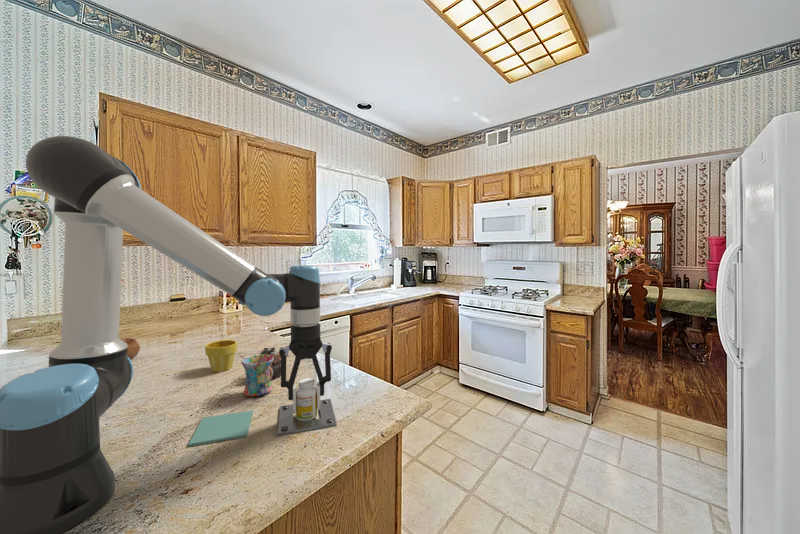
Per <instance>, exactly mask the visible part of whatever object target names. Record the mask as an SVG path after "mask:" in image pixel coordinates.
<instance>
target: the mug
mask: <svg viewBox="0 0 800 534" xmlns="http://www.w3.org/2000/svg"><path fill="white" fill-rule="evenodd" d="M273 360H274V357H273V356H271V355H260V354H254V355H251V356H247V357H245V358H243V359H242V360H241V362H240V363H241V365H242V366H243V369H244V371H245V376H246V377H245V378H246V379H245V380H246V383H245V387H244V390H243V394H244V395H245V396H247V397H260V396H263V395H267V394H269V393H271V391H272V390H273V388H274V385H273V384H272V380H271V379H272V376H273V370H272V368H271V365H272V362H273ZM270 371H271V375H270Z"/></svg>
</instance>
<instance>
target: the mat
mask: <svg viewBox="0 0 800 534" xmlns="http://www.w3.org/2000/svg"><path fill="white" fill-rule="evenodd" d="M253 413H254V410H252V409H251V410H246V411H239V412H238V411H237V412H231V413H226V414H225V413H224V414H219V415H212V416H205V417H202V419H201V420H200V422H199V424H198V426H197V427H196V429H195V431H194V433H193V435H192V437H191V439H190V440H189V442H188V447H194V446H199V445H200V446H202V445H206V444H213V443H217V442H223V441H224V442H225V441H229V440H235V439H240V438H246V437H247V436H248V433H249V429H250V426H251V423H252V422H251V421H252V418H253Z"/></svg>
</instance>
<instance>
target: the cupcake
mask: <svg viewBox="0 0 800 534" xmlns="http://www.w3.org/2000/svg"><path fill="white" fill-rule="evenodd" d="M259 355H271V356H273V357H274V360H273V362H272V365H271V368H272V370H273V376H272V379H274V380H277V379H279V377H280V376H281V357H280V354H279V350H277V349H276V347H271V348H267V347H265V348H263V349H262V350H261V352H260V353H259ZM270 375H271V371H270ZM276 378H277V379H276ZM280 378H281V377H280ZM272 379H271V380H270V381H273V380H272Z"/></svg>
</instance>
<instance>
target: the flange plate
mask: <svg viewBox="0 0 800 534" xmlns="http://www.w3.org/2000/svg"><path fill="white" fill-rule="evenodd" d="M334 411H335V410H334V407H333V405H332V399H331V398H326V399H320V410H319V414H320V418H316V419H312V420H309V421H298V422H294V414H293V403H292V404H287V405H285V404H284V405H280V406H279V415H278V416H279V417H278V425H277V436H278V437H279V436H283V435H289V434H294V433H301V432H306V431H312V430H318V429H323V428H324V429H325V428H330V427H336V426H337V419H336V415H335V412H334Z"/></svg>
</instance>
